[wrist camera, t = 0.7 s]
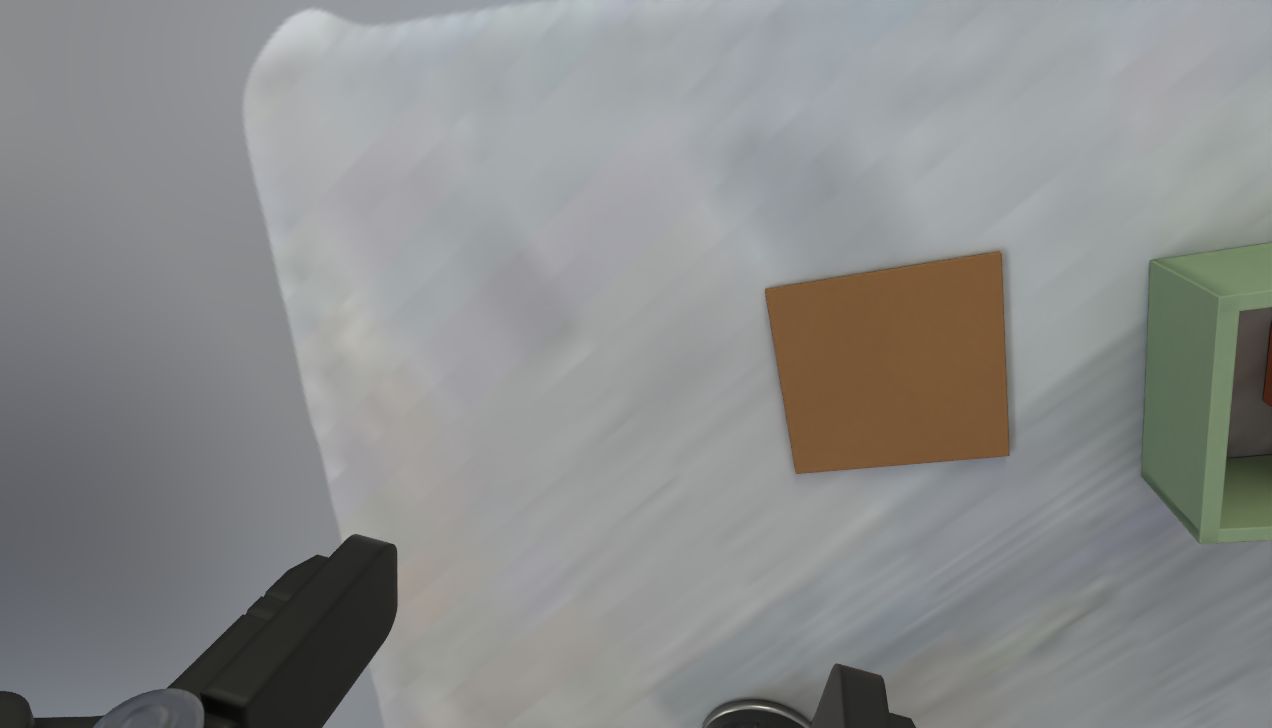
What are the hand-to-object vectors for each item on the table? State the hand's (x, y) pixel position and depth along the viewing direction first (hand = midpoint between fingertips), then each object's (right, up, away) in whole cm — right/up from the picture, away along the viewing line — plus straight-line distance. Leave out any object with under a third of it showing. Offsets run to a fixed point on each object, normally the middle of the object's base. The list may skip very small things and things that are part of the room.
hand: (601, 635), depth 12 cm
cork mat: (+15, +4, +26) cm, 31 cm away
